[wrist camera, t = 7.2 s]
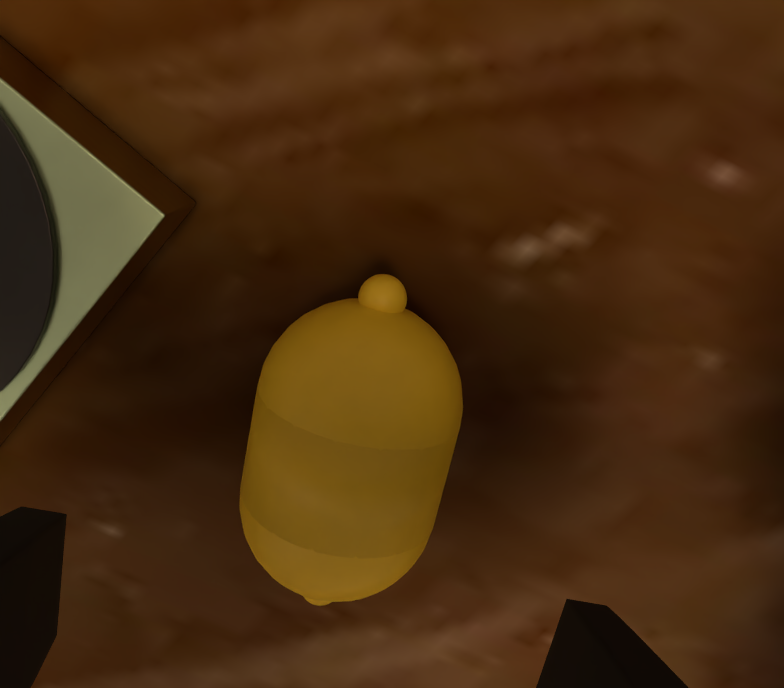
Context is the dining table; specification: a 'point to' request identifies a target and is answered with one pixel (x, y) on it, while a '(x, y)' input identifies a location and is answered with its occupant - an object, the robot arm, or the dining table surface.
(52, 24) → the dining table surface
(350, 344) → the lemon
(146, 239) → the hob
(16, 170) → the burner
